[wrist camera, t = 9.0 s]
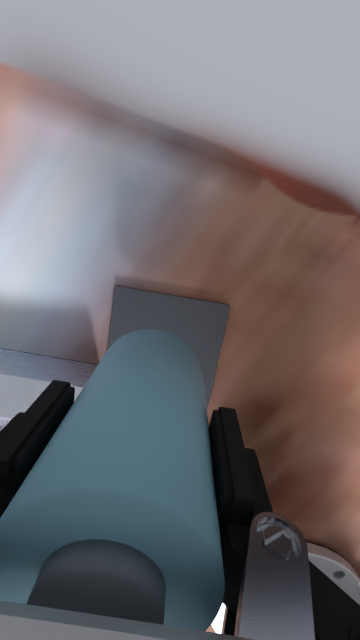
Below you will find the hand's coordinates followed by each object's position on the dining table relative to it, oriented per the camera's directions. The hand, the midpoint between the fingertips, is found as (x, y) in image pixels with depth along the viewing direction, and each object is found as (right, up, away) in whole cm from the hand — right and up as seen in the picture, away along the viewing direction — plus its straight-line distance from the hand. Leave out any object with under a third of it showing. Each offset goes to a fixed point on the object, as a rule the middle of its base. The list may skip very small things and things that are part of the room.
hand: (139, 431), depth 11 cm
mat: (0, +2, +9) cm, 9 cm away
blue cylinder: (0, +1, +4) cm, 4 cm away
